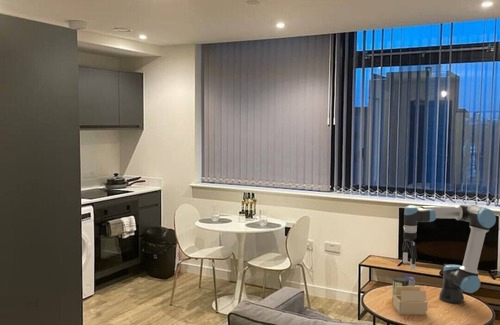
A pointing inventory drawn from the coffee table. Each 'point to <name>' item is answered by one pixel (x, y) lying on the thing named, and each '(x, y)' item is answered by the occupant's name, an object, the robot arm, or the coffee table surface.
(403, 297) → the flap near camera
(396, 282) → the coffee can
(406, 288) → the flap far
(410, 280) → the ink cartridge box
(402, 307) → the carton
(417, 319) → the coffee table surface
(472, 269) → the robot arm
